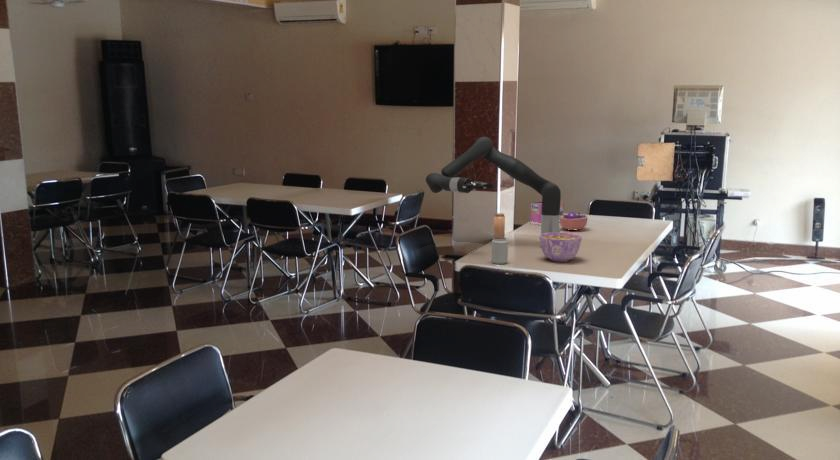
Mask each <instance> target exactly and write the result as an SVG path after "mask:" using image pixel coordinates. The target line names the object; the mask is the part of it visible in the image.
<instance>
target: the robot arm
mask: <svg viewBox="0 0 840 460" xmlns="http://www.w3.org/2000/svg"><path fill="white" fill-rule="evenodd" d="M478 158H482V159H484V160H486V161H487V162H490V164H492V165H494V166H495V167H497V168H498V169H500V170H501V171H503V172H504V173H506V174H507V175H508V176H509V177H510V178H513V179H514V180H516V181H518V183H519V182H520V183H521V184H523V185H525V186H528V187H530V188H532V189H533V190H534V191H535V192H537V193H538V194H540V196H541V202H542V210H541V225H540V234H543V233H561V229H560V223H559V214H560V202H561V197H562V195H561V193H562V192H561V189H560V188H559V186H558V185H557V184H556V183H554V182H552V181H549V180H548V179H545V178H543V177H542V176H541V175H539V174H538V173H536V172H535V171H534V170H533V169H532V168H531V167H529V166H528V165H527V164H525V163H524V162H523V161H521V160H520V159H518V158H516V157H514V156H511V155H508V154H506V153H503V152H501V151H500V150H498V148H495V147H494V142H493V141H492V139H491V138H490V137H488V136H480V137H478V138H477V139H476V140H475V142H474V143H473V144H472V145H471V146H470V147H469V148H468V149H467V150H466V151H465V152H463V153H462V154H461V155H459V156H457V157H456V158H455V159H454V160H452V161H451V162H449V163H448V164H447V165H445V166H444V167H442V169H441V170H440V172H441V174H440V173H437V172H432V173H429V174H428V175H426V177H425V182H426V184H427V185H428V188H429V189H430V191H431V192H432V193H434V194H438V193H440V192H441V191H446V192H454V193H463V194H470V193H471V191H484V190H485V189H491V190H492V189H494V184H493V183H489V182H483V181H472V179H471V178H470V177H461V176H460V177H458V176H457V175H459V174H461V172H462V171H463V170H465V169H466V168H467V167H468V166H469V165H471V163H473V162H474V161H476V160H477V159H478Z"/></svg>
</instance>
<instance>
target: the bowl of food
mask: <svg viewBox="0 0 840 460" xmlns="http://www.w3.org/2000/svg"><path fill="white" fill-rule="evenodd" d="M538 236H539V237H538V238H539V241H540V248H541V251H542V253H543V255H544V256H545V257H546V258H548V259H550V260H551V261H553V262H557V263H558V262H561V263H562V262H568V261H569V260H572V259H573V258H575V257H576V256H577V255H578V254H579V253H578V252H579V250H580V246H581V243H582V238H583V236H582V235H581V234H577V233H570V232H560V233H543V234H541V233H540V234H539V235H538Z"/></svg>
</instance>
